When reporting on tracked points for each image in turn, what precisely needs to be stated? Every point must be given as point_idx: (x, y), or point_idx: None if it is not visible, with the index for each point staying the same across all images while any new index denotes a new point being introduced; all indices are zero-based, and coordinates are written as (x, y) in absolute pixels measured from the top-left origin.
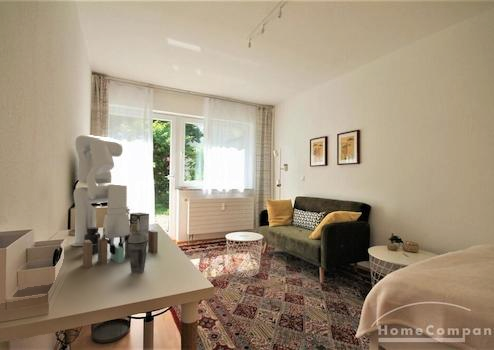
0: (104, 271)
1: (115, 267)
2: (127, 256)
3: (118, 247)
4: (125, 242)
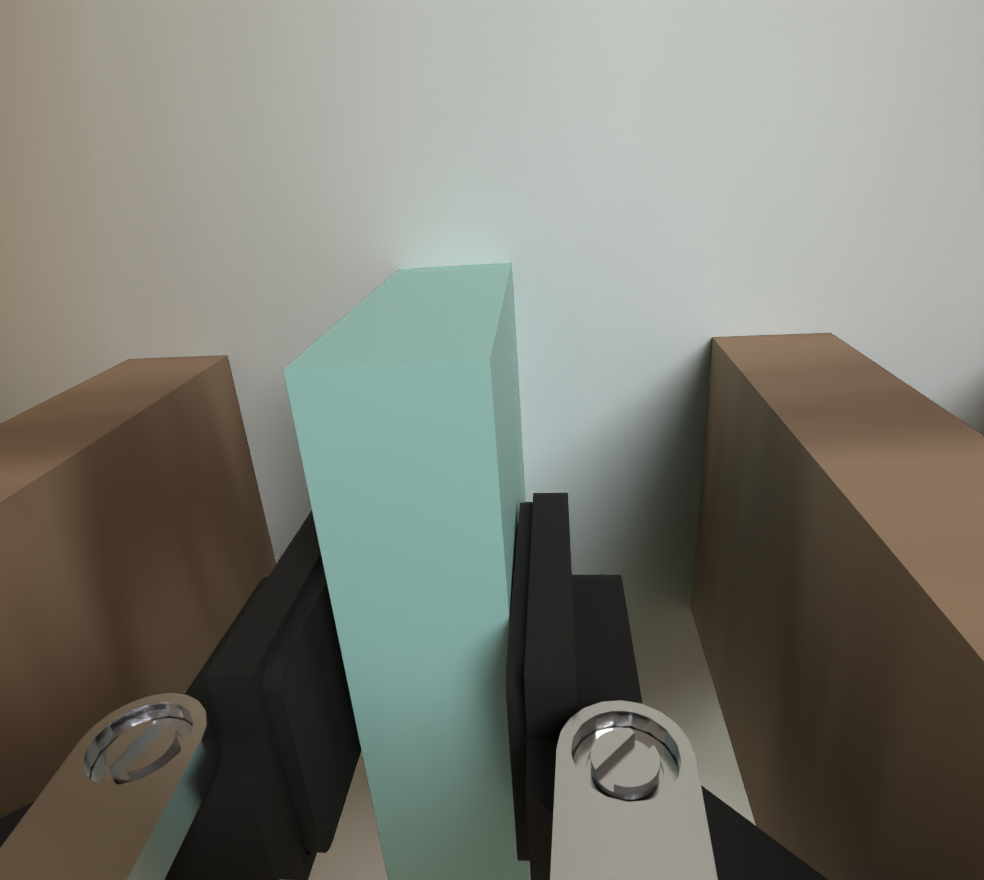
0: None
1: (370, 824)
2: (702, 515)
3: (437, 853)
4: (852, 585)
